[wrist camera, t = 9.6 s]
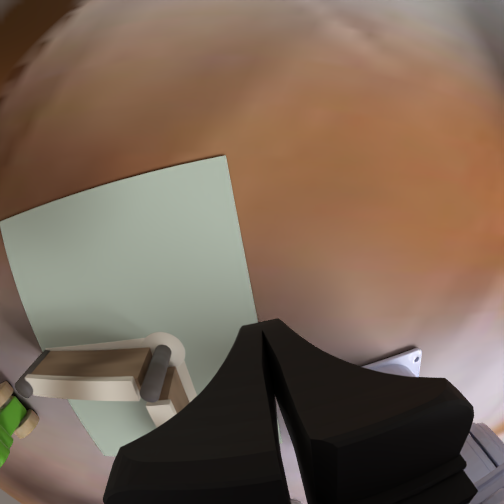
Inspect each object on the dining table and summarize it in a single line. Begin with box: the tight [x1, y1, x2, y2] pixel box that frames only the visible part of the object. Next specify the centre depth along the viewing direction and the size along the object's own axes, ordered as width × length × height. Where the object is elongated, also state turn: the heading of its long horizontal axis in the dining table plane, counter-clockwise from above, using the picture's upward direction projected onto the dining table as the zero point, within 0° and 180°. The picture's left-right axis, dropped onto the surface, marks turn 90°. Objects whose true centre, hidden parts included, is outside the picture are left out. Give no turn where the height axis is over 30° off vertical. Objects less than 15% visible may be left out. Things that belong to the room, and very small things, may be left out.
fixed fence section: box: [139, 345, 190, 427], centre depth 19 cm, size 12×2×5 cm, turn 10°
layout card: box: [0, 155, 282, 456], centre depth 20 cm, size 24×18×1 cm
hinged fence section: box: [15, 347, 152, 401], centre depth 18 cm, size 10×2×5 cm, turn 97°
